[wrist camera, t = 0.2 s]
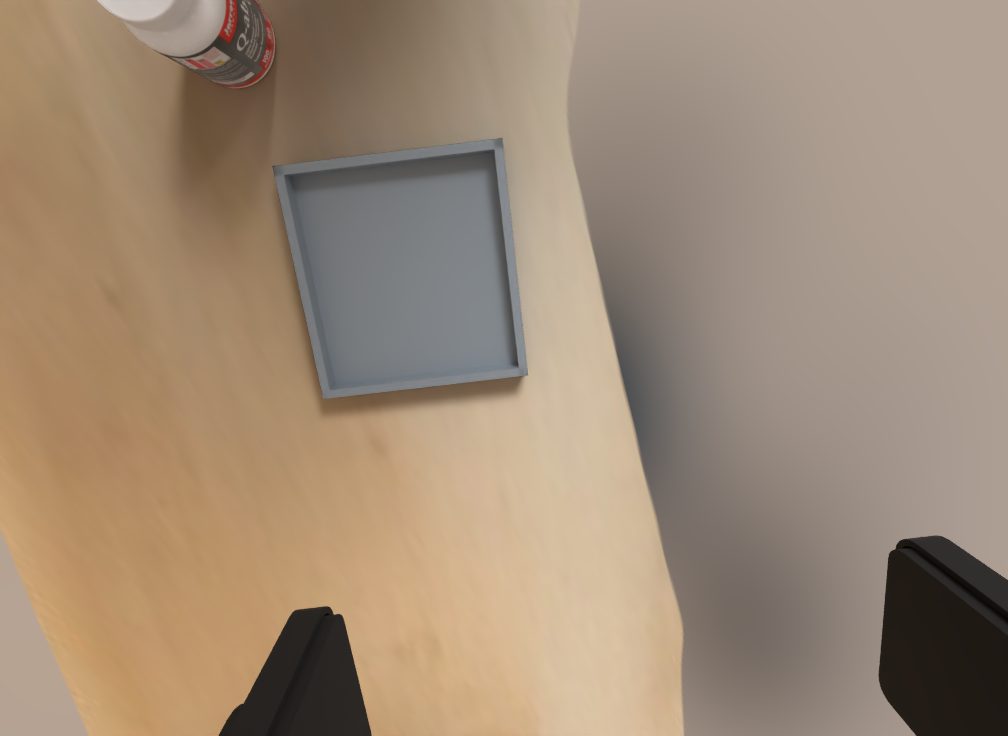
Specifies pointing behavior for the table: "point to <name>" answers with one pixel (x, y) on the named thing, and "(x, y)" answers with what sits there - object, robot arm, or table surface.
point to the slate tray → (406, 267)
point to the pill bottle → (204, 35)
